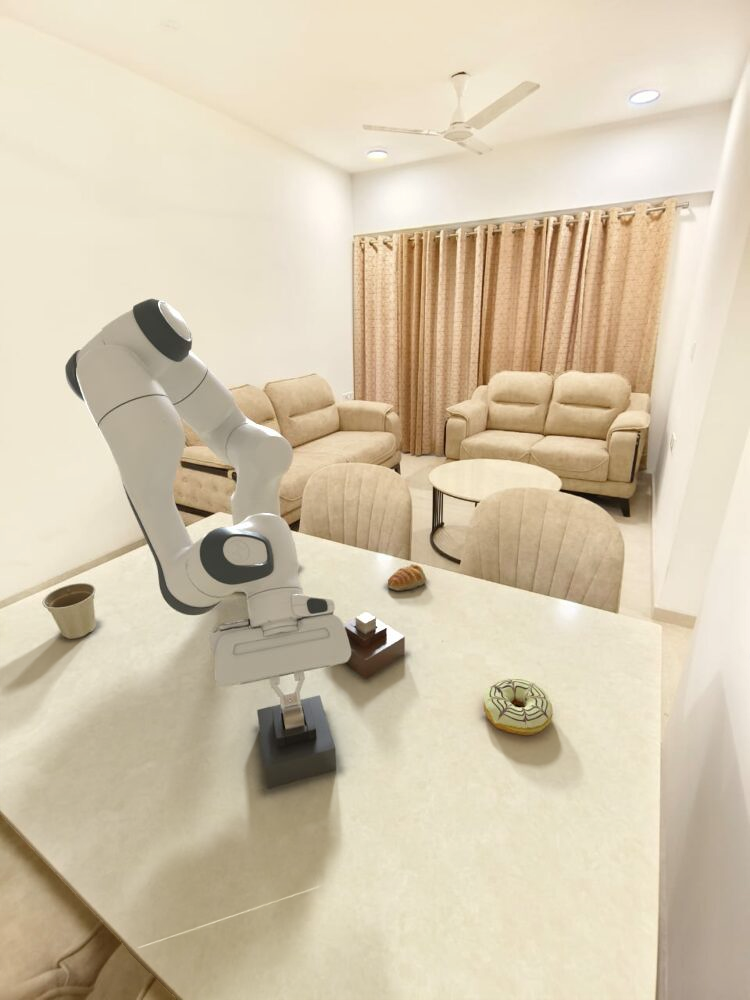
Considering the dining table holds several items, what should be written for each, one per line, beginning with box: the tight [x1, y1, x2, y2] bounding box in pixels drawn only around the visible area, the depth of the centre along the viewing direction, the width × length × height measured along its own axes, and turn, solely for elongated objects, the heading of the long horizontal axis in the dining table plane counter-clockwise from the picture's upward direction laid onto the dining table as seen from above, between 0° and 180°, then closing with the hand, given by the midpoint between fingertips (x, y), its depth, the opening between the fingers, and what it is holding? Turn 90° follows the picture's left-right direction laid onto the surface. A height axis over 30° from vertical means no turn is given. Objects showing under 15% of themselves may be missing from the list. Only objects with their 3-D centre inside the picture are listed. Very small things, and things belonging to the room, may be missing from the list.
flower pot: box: [42, 582, 97, 640], centre depth 103 cm, size 9×9×9 cm
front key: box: [282, 705, 305, 730], centre depth 74 cm, size 3×3×3 cm
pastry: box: [387, 563, 427, 592], centre depth 120 cm, size 9×7×4 cm
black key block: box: [256, 695, 337, 790], centre depth 75 cm, size 11×10×6 cm
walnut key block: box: [343, 618, 406, 680], centre depth 96 cm, size 11×10×6 cm
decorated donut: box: [483, 677, 554, 736], centre depth 81 cm, size 10×11×4 cm
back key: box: [354, 611, 377, 634], centre depth 95 cm, size 3×3×2 cm
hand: (291, 707), depth 73 cm, fingers closed, pressing on front key
